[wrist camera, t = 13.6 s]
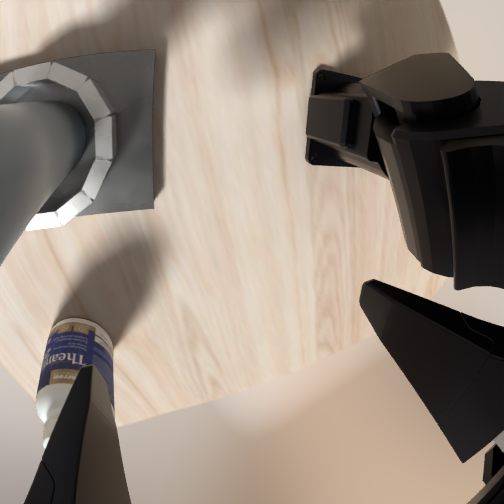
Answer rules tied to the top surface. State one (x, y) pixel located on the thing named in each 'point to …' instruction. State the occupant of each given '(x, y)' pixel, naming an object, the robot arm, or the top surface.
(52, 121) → the grey rounded cylinder
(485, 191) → the robot arm
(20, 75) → the duct plate
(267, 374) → the top surface
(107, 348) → the pill bottle
